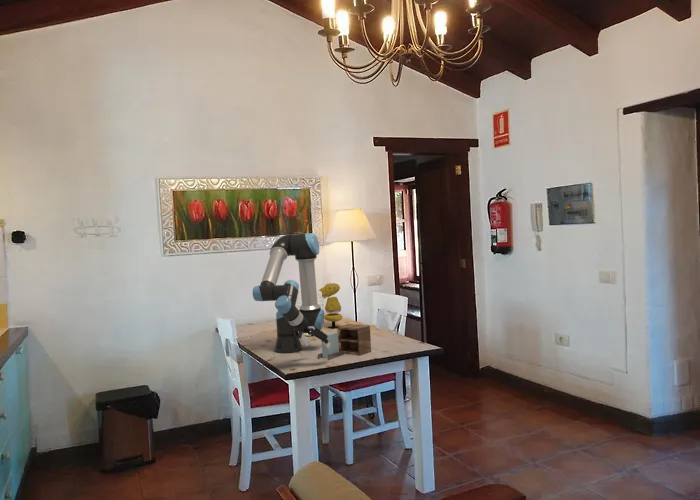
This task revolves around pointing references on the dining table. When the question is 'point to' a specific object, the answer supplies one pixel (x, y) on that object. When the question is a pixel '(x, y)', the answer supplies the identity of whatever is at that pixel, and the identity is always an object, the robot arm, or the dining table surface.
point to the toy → (331, 303)
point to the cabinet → (352, 340)
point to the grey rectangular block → (331, 345)
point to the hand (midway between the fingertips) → (318, 345)
